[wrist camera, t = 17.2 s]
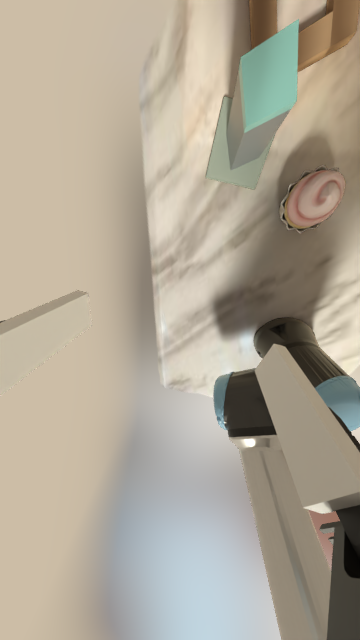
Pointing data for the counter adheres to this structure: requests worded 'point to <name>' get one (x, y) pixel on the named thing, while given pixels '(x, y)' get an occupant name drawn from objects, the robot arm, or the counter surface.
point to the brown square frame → (308, 28)
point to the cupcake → (312, 198)
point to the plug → (262, 95)
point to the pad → (220, 156)
